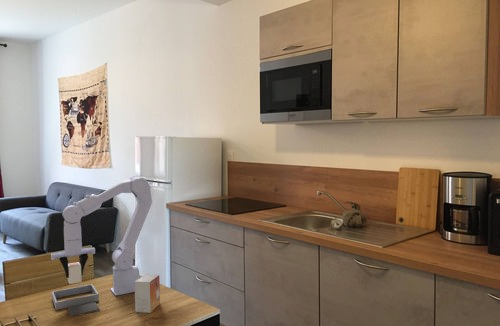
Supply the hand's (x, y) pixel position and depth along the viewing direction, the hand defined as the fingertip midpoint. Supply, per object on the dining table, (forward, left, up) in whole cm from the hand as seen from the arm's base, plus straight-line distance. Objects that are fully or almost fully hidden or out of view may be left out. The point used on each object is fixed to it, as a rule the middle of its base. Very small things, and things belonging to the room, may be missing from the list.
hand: (74, 276), depth 145 cm
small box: (-20, +22, -9) cm, 31 cm away
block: (0, 0, -2) cm, 2 cm away
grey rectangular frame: (0, 0, -9) cm, 9 cm away
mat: (-1, +11, -9) cm, 14 cm away
